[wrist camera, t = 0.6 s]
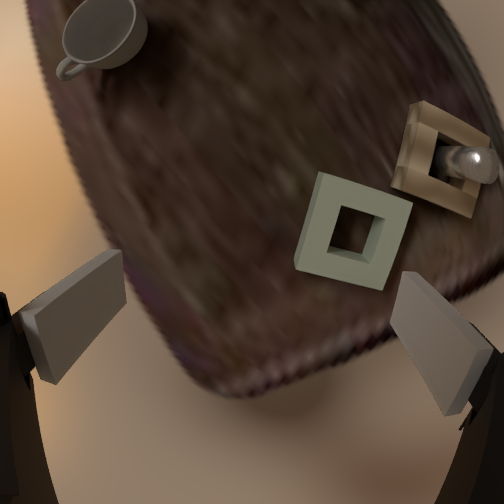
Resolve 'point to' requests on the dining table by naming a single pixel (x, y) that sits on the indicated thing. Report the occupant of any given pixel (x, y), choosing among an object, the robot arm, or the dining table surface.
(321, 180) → the socket block
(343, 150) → the dining table surface
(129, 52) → the teacup
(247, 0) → the dining table surface
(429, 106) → the block
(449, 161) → the lock pin
